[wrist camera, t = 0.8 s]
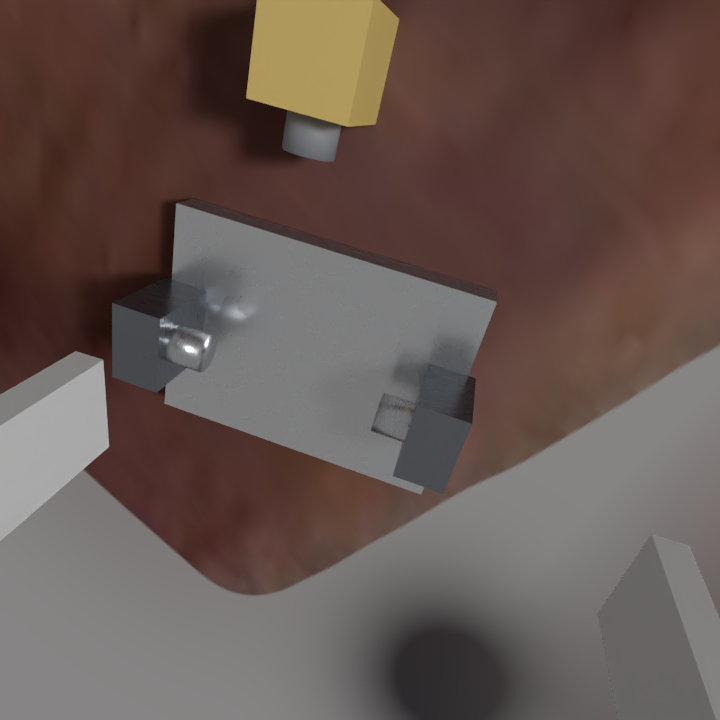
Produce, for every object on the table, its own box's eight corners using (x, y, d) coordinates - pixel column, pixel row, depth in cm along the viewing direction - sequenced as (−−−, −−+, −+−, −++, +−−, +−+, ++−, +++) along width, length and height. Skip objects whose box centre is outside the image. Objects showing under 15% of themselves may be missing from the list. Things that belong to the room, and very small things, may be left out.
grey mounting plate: (173, 388, 40) (112, 440, 33) (186, 196, 33) (111, 215, 26) (431, 479, 37) (417, 552, 31) (505, 293, 30) (507, 340, 24)
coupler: (315, -52, 25) (267, -95, 20) (410, -29, 25) (387, -67, 20) (286, 138, 30) (240, 143, 24) (367, 161, 29) (338, 172, 24)
